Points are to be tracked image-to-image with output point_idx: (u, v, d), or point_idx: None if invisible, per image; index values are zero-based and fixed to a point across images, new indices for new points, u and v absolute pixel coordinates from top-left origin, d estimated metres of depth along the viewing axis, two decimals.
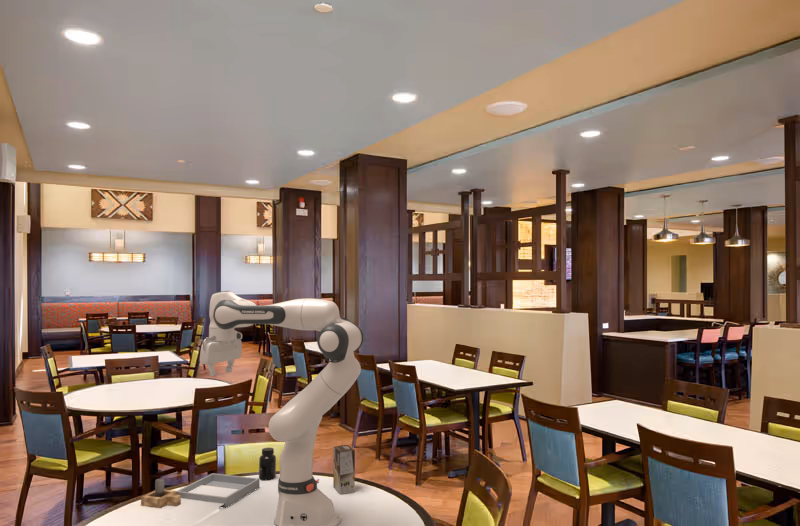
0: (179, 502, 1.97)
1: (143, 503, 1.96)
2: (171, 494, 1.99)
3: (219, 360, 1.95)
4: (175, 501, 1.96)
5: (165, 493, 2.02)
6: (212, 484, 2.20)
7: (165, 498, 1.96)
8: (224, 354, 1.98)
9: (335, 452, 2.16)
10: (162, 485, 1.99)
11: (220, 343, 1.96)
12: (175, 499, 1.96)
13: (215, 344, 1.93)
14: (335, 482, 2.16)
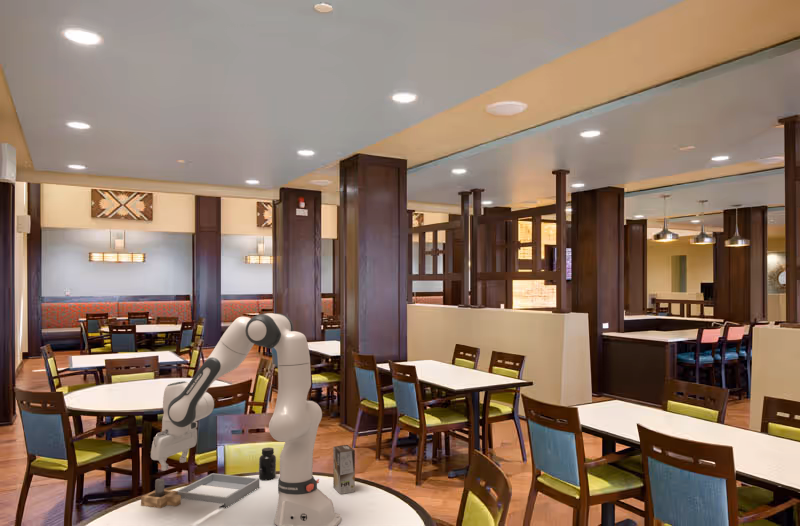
0: (179, 502, 1.97)
1: (143, 503, 1.96)
2: (171, 494, 1.99)
3: (171, 453, 1.94)
4: (175, 501, 1.96)
5: (165, 493, 2.02)
6: (212, 484, 2.20)
7: (165, 498, 1.96)
8: (177, 446, 1.97)
9: (335, 452, 2.16)
10: (162, 485, 1.99)
11: (173, 436, 1.95)
12: (175, 499, 1.96)
13: (167, 438, 1.92)
14: (335, 482, 2.16)
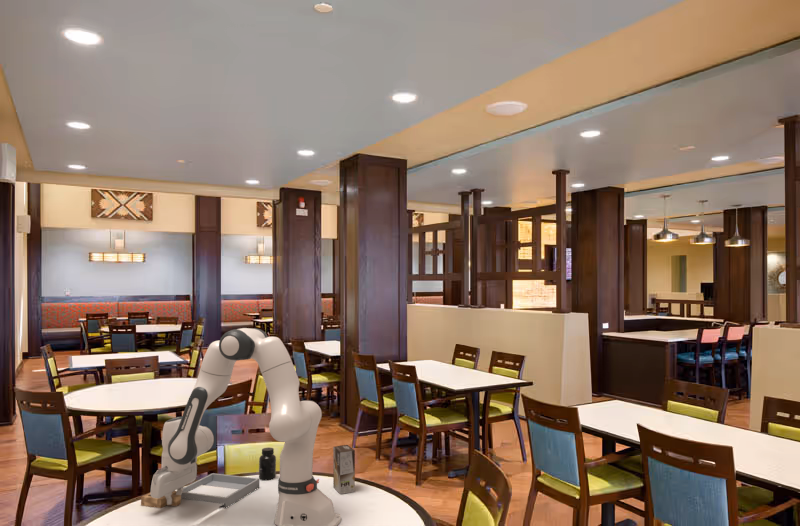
0: (179, 502, 1.97)
1: (143, 503, 1.96)
2: None
3: (171, 490, 1.94)
4: (175, 501, 1.96)
5: None
6: (212, 484, 2.20)
7: (165, 498, 1.96)
8: (177, 482, 1.96)
9: (335, 452, 2.16)
10: None
11: (172, 473, 1.94)
12: (175, 499, 1.96)
13: (166, 475, 1.92)
14: (335, 482, 2.16)
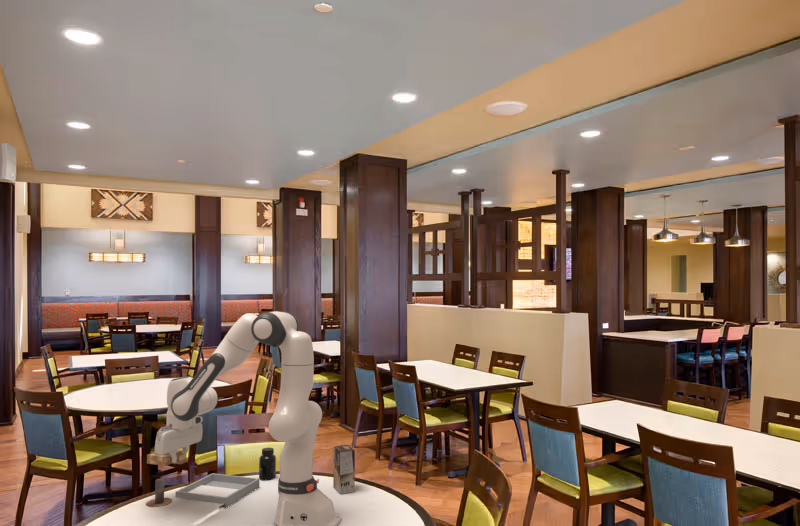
0: (184, 461, 1.98)
1: (149, 461, 1.98)
2: (176, 453, 2.00)
3: (175, 448, 1.95)
4: (180, 459, 1.97)
5: None
6: (212, 484, 2.20)
7: (170, 456, 1.98)
8: (181, 441, 1.98)
9: (335, 452, 2.16)
10: (162, 485, 1.99)
11: (177, 431, 1.96)
12: (180, 457, 1.97)
13: (171, 433, 1.93)
14: (335, 482, 2.16)
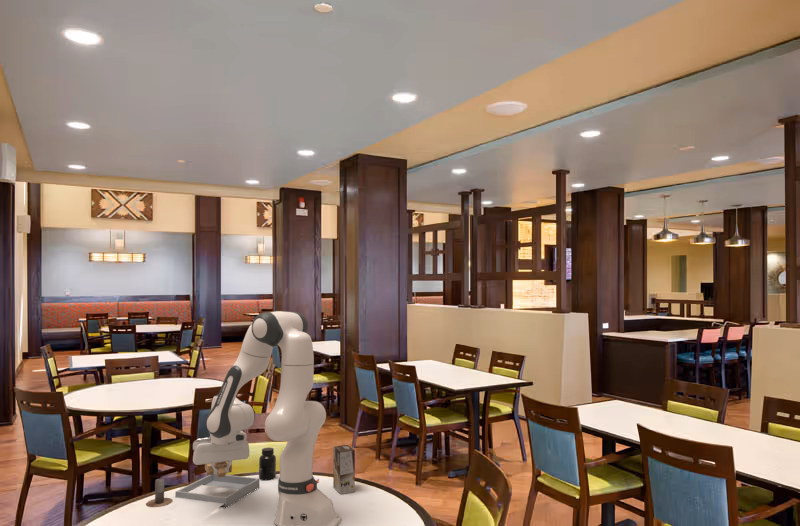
0: (223, 474, 2.05)
1: (205, 467, 2.13)
2: (222, 465, 2.09)
3: (212, 461, 2.04)
4: (218, 472, 2.05)
5: (225, 463, 2.13)
6: (212, 484, 2.20)
7: None
8: (220, 455, 2.05)
9: (335, 452, 2.16)
10: (162, 485, 1.99)
11: (214, 444, 2.04)
12: (218, 470, 2.05)
13: (206, 446, 2.03)
14: (335, 482, 2.16)
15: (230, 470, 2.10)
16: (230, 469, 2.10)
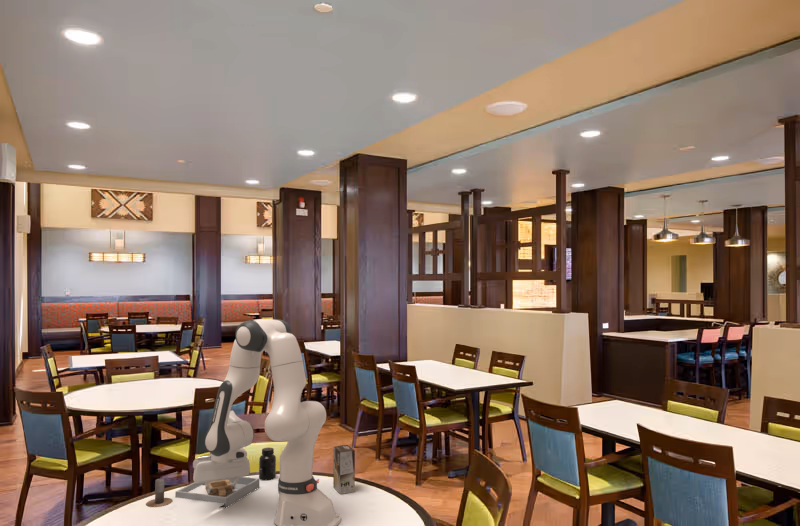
0: None
1: None
2: (223, 487, 2.08)
3: (212, 479, 2.03)
4: (219, 495, 2.04)
5: (226, 485, 2.13)
6: None
7: (215, 489, 2.07)
8: (220, 473, 2.04)
9: (335, 452, 2.16)
10: (162, 485, 1.99)
11: (214, 462, 2.03)
12: (219, 493, 2.04)
13: (206, 464, 2.02)
14: (335, 482, 2.16)
15: None
16: (231, 491, 2.09)
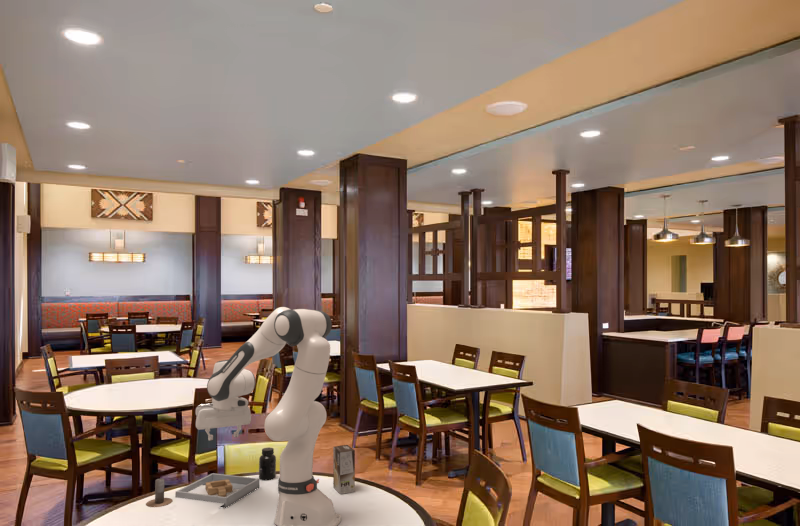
0: None
1: None
2: (223, 487, 2.08)
3: (214, 426, 2.07)
4: (219, 495, 2.04)
5: (226, 485, 2.13)
6: None
7: (215, 489, 2.07)
8: (222, 420, 2.09)
9: (335, 452, 2.16)
10: (162, 485, 1.99)
11: (216, 410, 2.08)
12: (219, 493, 2.04)
13: (208, 411, 2.06)
14: (335, 482, 2.16)
15: None
16: (231, 491, 2.09)
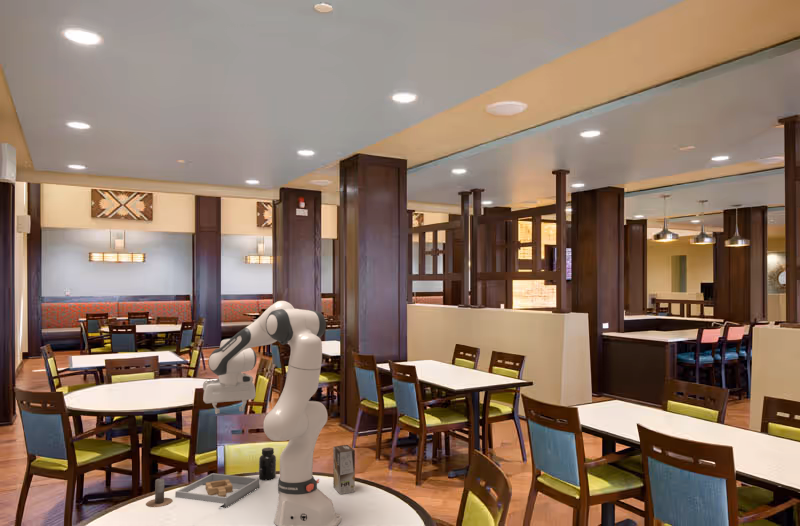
0: None
1: None
2: (223, 487, 2.08)
3: (221, 400, 2.19)
4: (219, 495, 2.04)
5: (226, 485, 2.13)
6: None
7: (215, 489, 2.07)
8: (228, 395, 2.21)
9: (335, 452, 2.16)
10: (162, 485, 1.99)
11: (222, 385, 2.20)
12: (219, 493, 2.04)
13: (215, 386, 2.18)
14: (335, 482, 2.16)
15: None
16: (231, 491, 2.09)
